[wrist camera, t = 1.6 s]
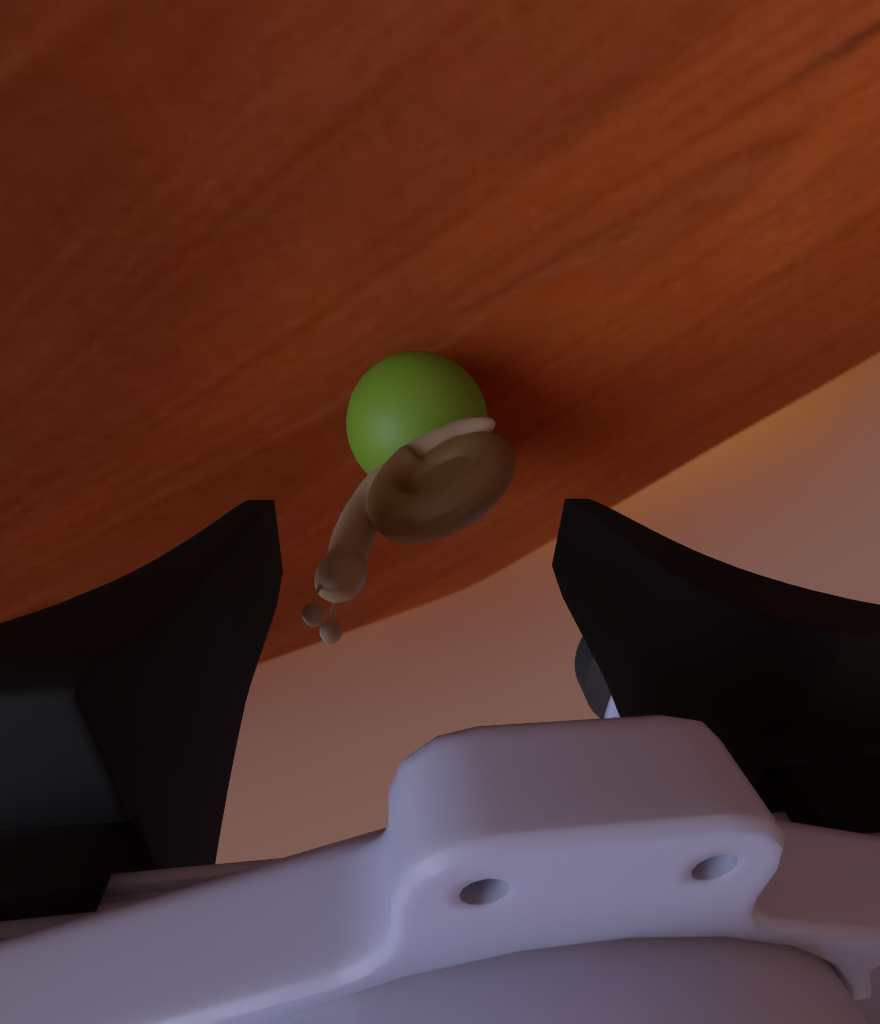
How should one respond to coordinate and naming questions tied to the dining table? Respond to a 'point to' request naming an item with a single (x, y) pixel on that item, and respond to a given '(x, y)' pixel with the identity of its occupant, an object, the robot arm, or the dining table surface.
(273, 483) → the dining table surface
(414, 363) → the snail figurine
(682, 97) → the dining table surface
